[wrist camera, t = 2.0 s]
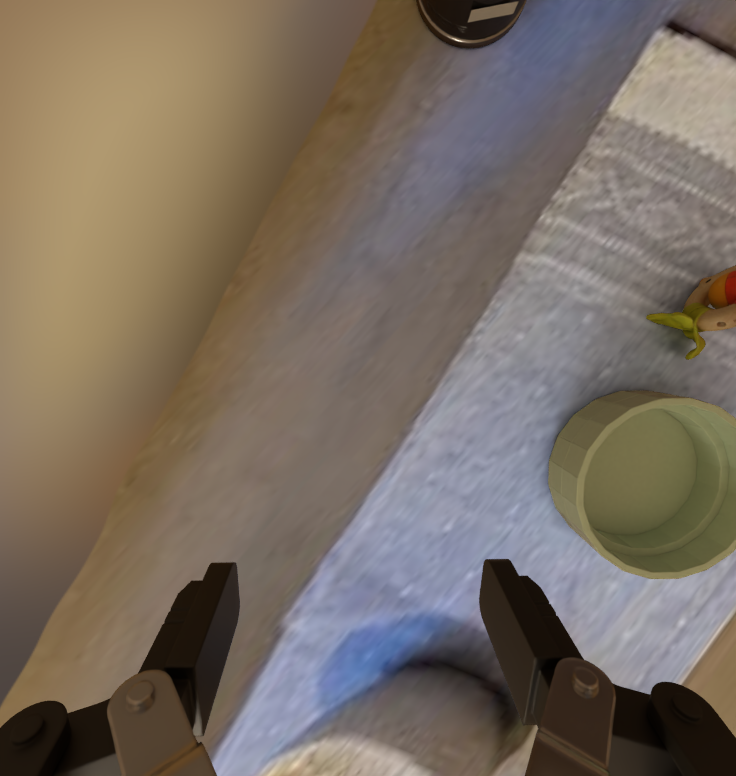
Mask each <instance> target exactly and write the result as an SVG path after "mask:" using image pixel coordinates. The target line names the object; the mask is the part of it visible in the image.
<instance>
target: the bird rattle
mask: <svg viewBox="0 0 736 776" xmlns="http://www.w3.org/2000/svg"><path fill="white" fill-rule="evenodd" d="M709 304H711V305H712V306H713V307H714V308H715V309H712V308H709V307H708V305H709ZM646 319H648V320H651V321H652V322H654V323H657V324H662V325H666V326H670V327H673V328H677V329H682V330H683V333H684V334H685V336H686V337H688V338H690V339H693V340H694V341H695V342H696V345H697V347H696V348H695V349H693V350H692V351H690V352H689V353H688V354H687V355H686V357H685V358H686V359H687V360H689V359H692V358H694V357H696V356H697V355H699V354H700V352H701V351H702V350H703V349H704V347H705V345H706V343H705V341H704V339H703V338H702V337H701V336H700V335H699V333H698V332H703V331H717V330H723V329H728V328H732V327H736V265H735V266H733V267H731V268H728V269H726V270H724V271H722V272H720V273H718V274H716V275H714V276H711V277H707V278H704V279H702V280H701V281H700V283H699V286H698V287H697V288H696V289H695V290H694V291H693V293H692V294H691V295H690V296H689V298H688V299H687V301H686V303H685V305H684V309H683V311H682V313H681V312H675V313H658V314H649V315H647V316H646Z"/></svg>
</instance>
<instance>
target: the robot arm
mask: <svg viewBox="0 0 736 776" xmlns="http://www.w3.org/2000/svg"><path fill="white" fill-rule="evenodd" d="M416 2H417V6H418V9H419V12H420V15H421V17H422V19H423V21H424V22H425V24H426V26H427V27H428V28H429V29H430V31H431V32H432V33H433V34H434V35H436V36H437V37H438V38H439V39H441V40H442V41H444V42H446V43H448V44H450V45H452V46H456V47H460V48H479V47H484V46H487V45H489V44H492V43H494V42H495V41H497V40H499V39H500V38H502V37H503V36H504V35H505V34H506V33H507V32H508V31H509V30H510V29H511V28H512V27H513V25H514V24H515V23H516V21H517V20H518V18H519V16H520V14H521V12H522V10H523V7H524V5H525V3H526V0H416ZM479 604H480V612H481V616H482V619H483V622H484V625H485V627H486V630H487V632H488V635H489V638H490V640H491V643H492V645H493V648H494V651H495V653H496V656H497V658H498V661H499V664H500V666H501V669H502V672H503V674H504V677H505V679H506V682H507V685H508V687H509V690H510V692H511V695H512V698H513V700H514V703H515V705H516V708H517V711H518V713H519V716H520V719H521V721H522V724H523V725H537V726H538V728H539V729H538V730H537V733H536V737H535V740H534V744H533V748H532V751H531V755H530V759H529V762H528V766H527V770H526V773H525V776H736V738H735V736H734V735H733V734H732V732H731V731H730V730H729V729H728V727H727V726H726V725H725V723H724V722H723V721H722V719H721V718H720V717H719V715H718V714H717V713H716V712H715V710H714V709H713V708H712V707H711V706H710V705H709V704H708V703H707V702H706V701H705V700H704V699H703V698H702V697H701V696H699V695H698V694H696V693H695V692H693V691H692V690H690V689H688V688H686V687H684V686H682V685H679V684H676V683H672V682H660V683H657V684H656V685H655V686H654V687H653V688H652V691H651V695H649V694H645V693H642V692H638V691H634V690H631V689H627V688H623V687H620V686H617V685H615V684H613V683H612V682H611V680H610V679H609V678H608V677H607V675H606V674H605V673H604V672H603V671H602V670H600V669H599V668H598V667H597V666H595V665H594V664H592V663H590V662H588V661H586V660H584V659H583V658H582V656H581V654H580V653H579V651H578V649H577V648H576V646H575V644H574V643H573V641H572V639H571V638H570V636H569V634H568V633H567V631H566V629H565V628H564V626H563V624H562V623H561V621H560V619H559V617H558V616H556V612H555V611H554V609H553V607H552V606H551V604H549V601H548V599H547V597H546V596H545V594H544V592H543V591H542V589H541V588H540V587H539V586H538V585H537V584H536V583H535V582H534V581H533V580H531V579H530V578H529V577H528V576H519V575H518V573H517V572H516V570H515V568H514V566H513V564H512V563H511V561H510V560H509V559H486V560H485V561H484V565H483V572H482V580H481V588H480V597H479ZM239 609H240V599H239V586H238V574H237V565H236V563H235V562H232V563H211V564H210V565H209V567H208V569H207V572H206V574H205V576H204V578H203V581H191V582H190V583H189V584H188V585H187V586H186V587H185V588H184V589H183V590H182V591H181V592H180V593H178V595H177V597H176V599H175V601H174V603H173V605H172V607H171V611H170V612H169V613H168V615H167V617H166V619H165V623H164V624H163V625H162V627H161V629H160V631H159V633H158V635H157V637H156V639H155V641H154V643H153V645H152V647H151V649H150V651H149V653H148V655H147V657H146V659H145V661H144V663H143V665H142V667H141V669H140V671H139V672H138V674H136V675H134V676H132V677H131V678H129V679H128V680H126V681H125V682H124V683H123V684H122V685H121V686H119V688H118V689H117V690H116V691H115V692H114V694H113V695H112V697H111V698H110V699H108V700H106V701H103V702H101V703H98V704H95V705H92V706H89V707H86V708H83V709H80V710H77V711H74V712H71V713H67V710H66V708H65V706H64V705H63V704H62V703H60V702H57V701H44V702H40V703H36V704H34V705H31V706H29V707H27V708H25V709H23V710H22V711H20V712H19V713H17V714H16V715H14V716H13V717H12V718H10V719H9V720H8V721H7V722H6V723H5V724H4V725H3V726H2V727H1V728H0V776H217V775H216V772H215V770H214V768H213V765H212V763H211V760H210V758H209V756H208V753H207V751H206V749H205V747H204V745H203V744H202V742H200V743H198V742H197V740H196V738H195V736H204V733H205V730H206V726H207V723H208V720H209V716H210V713H211V710H212V706H213V703H214V699H215V696H216V693H217V689H218V686H219V683H220V679H221V676H222V673H223V669H224V666H225V663H226V659H227V656H228V653H229V649H230V646H231V643H232V639H233V636H234V632H235V629H236V626H237V622H238V617H239Z"/></svg>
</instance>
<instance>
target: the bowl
mask: <svg viewBox="0 0 736 776" xmlns="http://www.w3.org/2000/svg"><path fill="white" fill-rule="evenodd" d="M548 485H549V488H550V491H551V495H552V498H553V501H554V505H555V507H556V509H557V510H558V512H559V513H560V514H561V516H562V517H563V519H564V520H565V521H566V523H567V524H568V525H569V527H570V528H571V529H573V530H574V531H575V532H576V533H577V534H578V535H579V536H580V537H581V538H582V539H583V540H585V541H586V542H587V543H588V544H589V545H590V546H591V547H592V548H593V549H594V550H596V551H597V552H598V553H599V554H600V555H601V556H602V557H604V558H605V559H607V560H608V561H610V562H611V563H613V564H614V565H615V566H617V567H618V568H620V569H621V570H623V571H625V572H629V573H632V574H635V575H639V576H642V577H646V578H649V579H679V578H682V577H686V576H689V575H692V574H695V573H698V572H701V571H705V570H707V569H709V568H710V567H712V566H713V565H715V564H716V563H718V562H719V561H721V560H722V559H724V558H725V557H727V556H728V555H730V554H731V553H733V551H734V550H735V549H736V419H735V418H734V417H733V416H731V415H730V414H729V413H727V412H726V411H725V410H723V409H722V408H721V407H719V406H716V405H713V404H710V403H706V402H703V401H700V400H697V399H693V398H689V397H683V396H677V395H671V394H665V393H660V392H654V391H648V390H634V391H618V392H615V393H612V394H609V395H606V396H603V397H600V398H597V399H596V400H594V401H592V402H591V403H590V404H588V405H587V406H585V407H584V408H583V409H581V410H580V411H578V412H577V413H576V414H574V415H573V416H572V418H571V419H570V420H569V422H568V423H567V424H566V426H565V427H564V428H563V430H562V431H561V432H560V433H559V435H558V437H557V440H556V442H555V445H554V448H553V451H552V453H551V456H550V460H549V478H548Z"/></svg>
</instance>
